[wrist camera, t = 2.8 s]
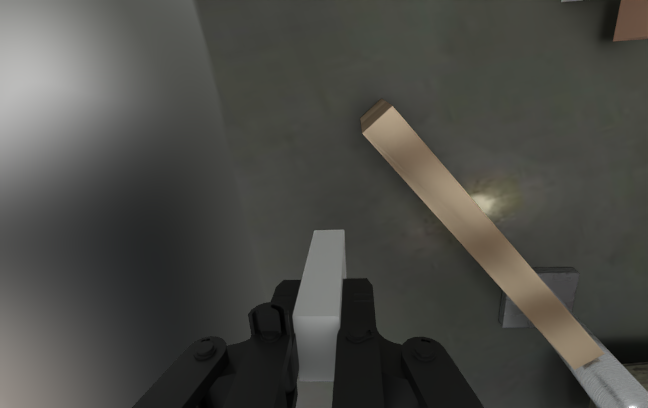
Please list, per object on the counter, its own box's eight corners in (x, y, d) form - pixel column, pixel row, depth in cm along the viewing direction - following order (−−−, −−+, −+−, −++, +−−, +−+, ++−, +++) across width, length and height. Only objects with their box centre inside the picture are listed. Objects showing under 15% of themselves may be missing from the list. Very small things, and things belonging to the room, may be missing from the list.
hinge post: (562, 321, 34) (679, 456, 22) (498, 320, 34) (577, 452, 22) (573, 267, 32) (708, 382, 20) (505, 268, 32) (595, 380, 20)
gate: (540, 283, 31) (604, 353, 23) (519, 297, 32) (574, 369, 24) (381, 98, 27) (392, 105, 19) (360, 118, 28) (362, 133, 20)
